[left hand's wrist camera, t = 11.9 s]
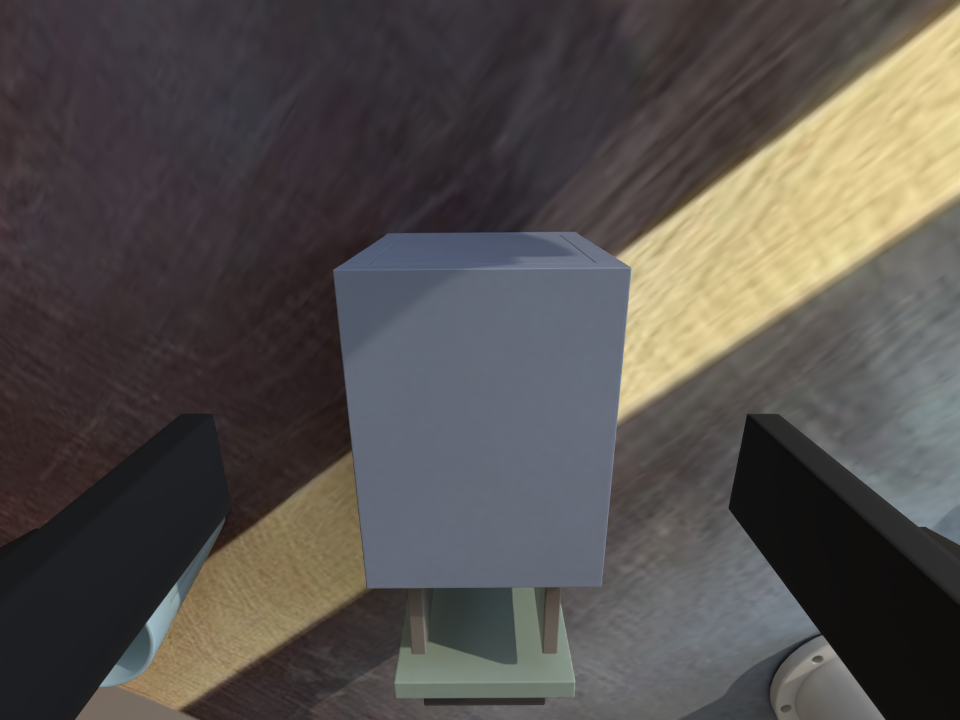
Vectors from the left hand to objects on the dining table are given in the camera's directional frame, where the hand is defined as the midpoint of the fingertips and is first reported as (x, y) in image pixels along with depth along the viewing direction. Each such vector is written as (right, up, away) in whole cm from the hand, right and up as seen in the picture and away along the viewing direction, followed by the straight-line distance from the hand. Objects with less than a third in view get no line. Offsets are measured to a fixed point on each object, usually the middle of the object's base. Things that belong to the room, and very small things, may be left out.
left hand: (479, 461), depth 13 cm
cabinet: (0, +3, +19) cm, 20 cm away
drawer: (0, -9, +22) cm, 24 cm away
